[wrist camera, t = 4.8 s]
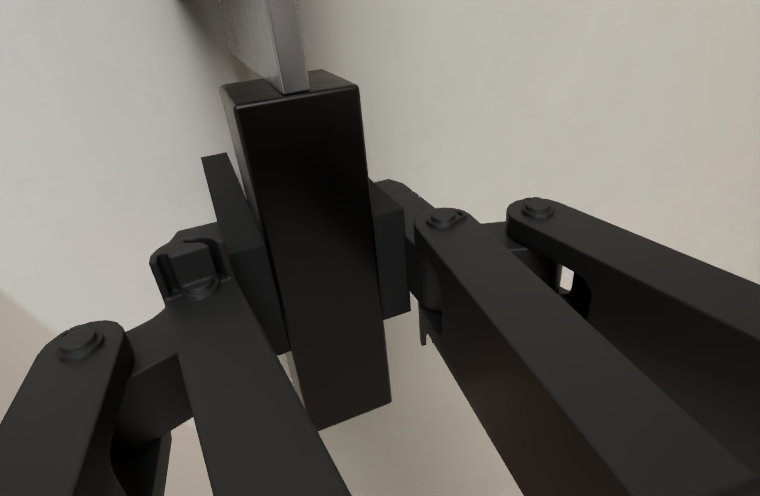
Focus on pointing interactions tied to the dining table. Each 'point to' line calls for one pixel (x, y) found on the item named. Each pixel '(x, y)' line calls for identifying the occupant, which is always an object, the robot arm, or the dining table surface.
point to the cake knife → (309, 209)
